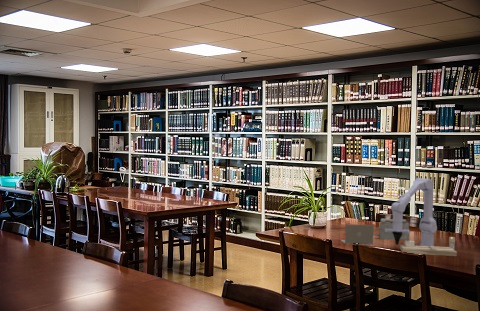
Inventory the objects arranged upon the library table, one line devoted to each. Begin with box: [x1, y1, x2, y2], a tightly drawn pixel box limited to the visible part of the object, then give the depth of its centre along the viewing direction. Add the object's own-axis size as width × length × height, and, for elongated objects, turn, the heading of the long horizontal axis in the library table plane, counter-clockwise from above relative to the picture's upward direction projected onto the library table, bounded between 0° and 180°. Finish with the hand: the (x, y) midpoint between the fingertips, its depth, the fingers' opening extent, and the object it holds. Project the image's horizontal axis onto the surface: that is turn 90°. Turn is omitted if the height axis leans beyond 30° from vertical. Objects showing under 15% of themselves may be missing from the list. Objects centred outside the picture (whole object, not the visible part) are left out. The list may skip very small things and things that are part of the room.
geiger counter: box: [373, 218, 410, 241], centre depth 347 cm, size 14×6×25 cm
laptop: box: [340, 224, 374, 245], centre depth 334 cm, size 18×12×13 cm
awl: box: [448, 236, 456, 250], centre depth 315 cm, size 3×3×8 cm
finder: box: [403, 239, 415, 247], centre depth 312 cm, size 5×5×3 cm
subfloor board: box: [399, 244, 458, 257], centre depth 307 cm, size 13×30×3 cm, turn 82°
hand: (396, 244), depth 313 cm, fingers closed
